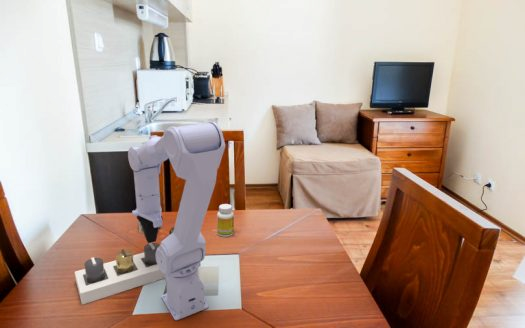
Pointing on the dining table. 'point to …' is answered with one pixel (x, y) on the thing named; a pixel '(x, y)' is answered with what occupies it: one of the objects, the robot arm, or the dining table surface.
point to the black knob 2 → (150, 253)
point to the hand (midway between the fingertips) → (151, 241)
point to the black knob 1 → (94, 270)
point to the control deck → (117, 279)
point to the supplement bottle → (225, 220)
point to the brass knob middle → (124, 261)
